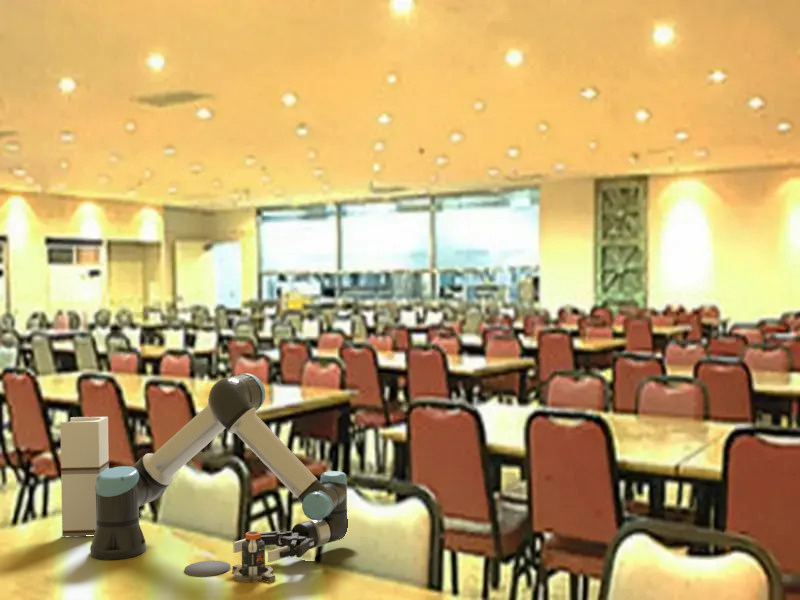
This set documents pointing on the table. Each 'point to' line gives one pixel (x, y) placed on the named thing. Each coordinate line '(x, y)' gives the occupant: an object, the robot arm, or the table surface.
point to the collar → (250, 578)
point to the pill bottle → (253, 554)
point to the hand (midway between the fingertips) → (251, 552)
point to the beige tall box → (82, 471)
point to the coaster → (207, 568)
